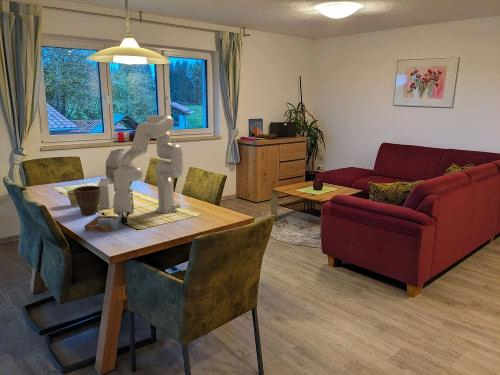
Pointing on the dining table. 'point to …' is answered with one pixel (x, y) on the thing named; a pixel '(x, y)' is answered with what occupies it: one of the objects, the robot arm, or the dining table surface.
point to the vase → (115, 163)
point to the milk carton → (106, 193)
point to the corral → (93, 227)
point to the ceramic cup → (72, 198)
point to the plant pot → (87, 199)
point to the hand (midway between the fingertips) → (124, 223)
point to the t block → (111, 222)
